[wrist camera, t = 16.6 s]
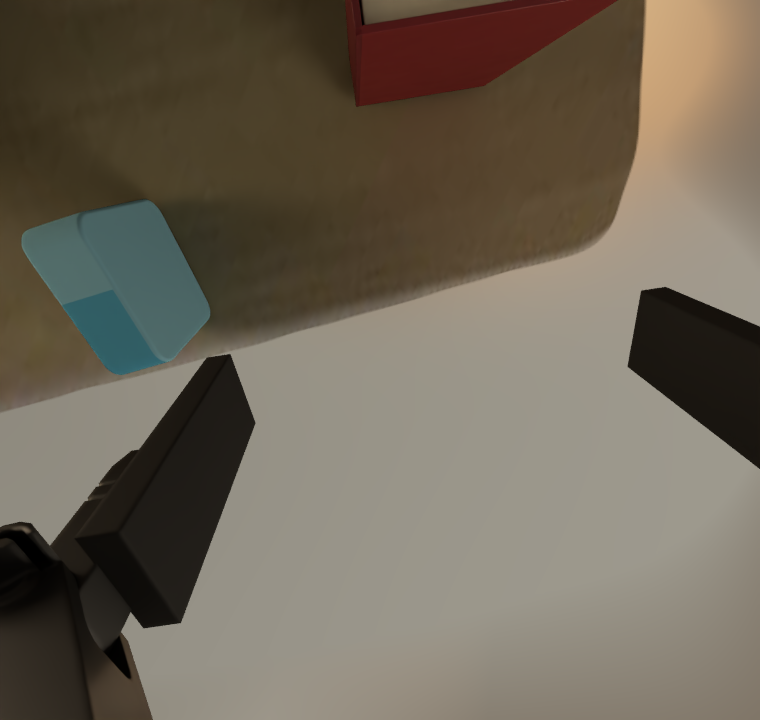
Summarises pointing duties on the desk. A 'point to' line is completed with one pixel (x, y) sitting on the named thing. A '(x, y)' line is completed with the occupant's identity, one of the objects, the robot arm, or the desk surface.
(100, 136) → the desk surface
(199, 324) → the data package
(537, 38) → the book
